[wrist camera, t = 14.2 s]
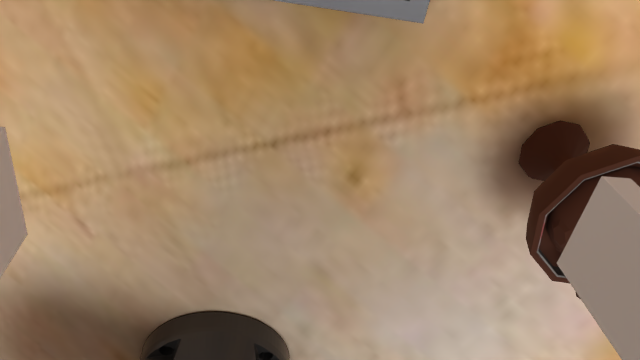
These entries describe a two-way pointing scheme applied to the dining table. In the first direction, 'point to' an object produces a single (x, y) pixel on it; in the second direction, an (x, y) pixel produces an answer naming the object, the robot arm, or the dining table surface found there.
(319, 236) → the dining table surface
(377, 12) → the tray
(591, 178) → the ice cream bowl
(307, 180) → the dining table surface
